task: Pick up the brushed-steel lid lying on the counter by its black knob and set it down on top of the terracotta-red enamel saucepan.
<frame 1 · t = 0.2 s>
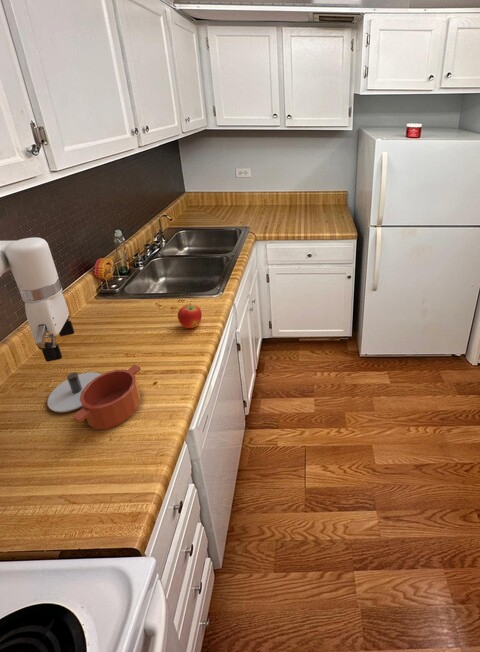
hand: (61, 346, 85), 19 cm above the counter, tool pointing down, fingers open, 9 cm apart
pan lid: (77, 391, 94), point 1 cm above the counter
apple: (191, 326, 123), on the counter
saucepan: (114, 408, 90), on the counter
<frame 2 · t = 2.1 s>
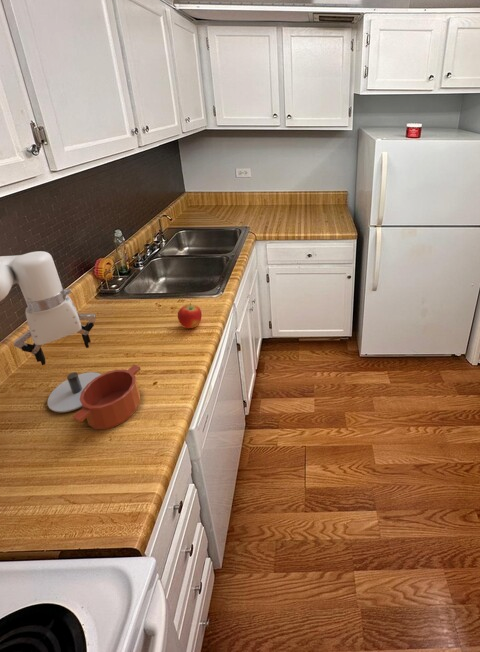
hand: (66, 353, 89), 14 cm above the counter, tool pointing down, fingers open, 9 cm apart
nothing on the counter moved.
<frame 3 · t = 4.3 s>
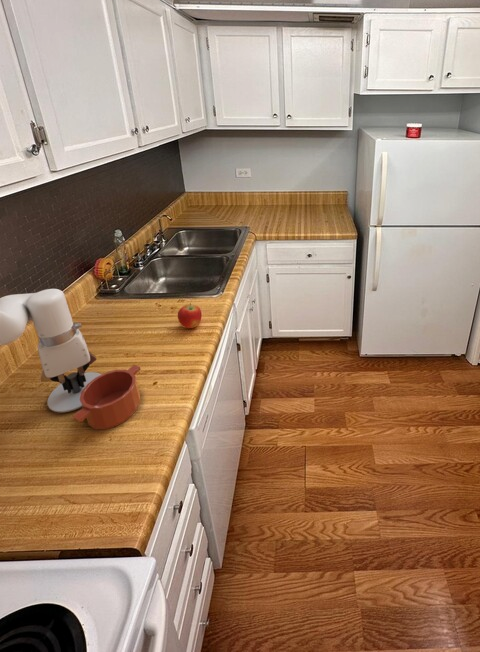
hand: (75, 386, 94), 2 cm above the counter, tool pointing down, fingers closed on pan lid, 2 cm apart
pan lid: (77, 391, 94), point 1 cm above the counter, touching gripper
everything else where it was.
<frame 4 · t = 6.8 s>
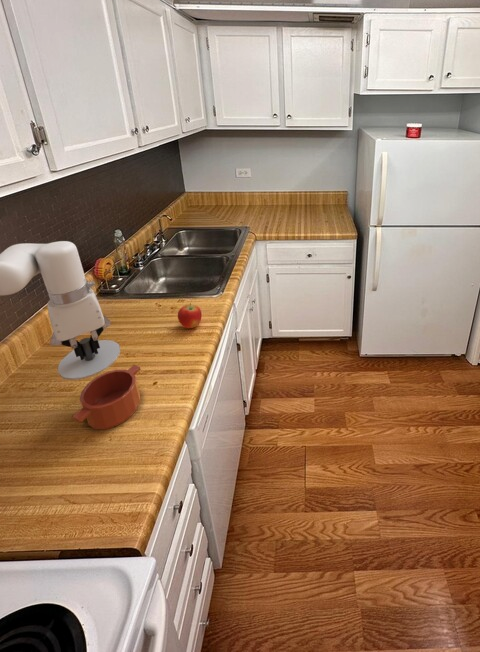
hand: (88, 353, 85), 17 cm above the counter, tool pointing down, fingers closed on pan lid, 2 cm apart
pan lid: (90, 359, 86), point 16 cm above the counter, touching gripper
everything else where it was.
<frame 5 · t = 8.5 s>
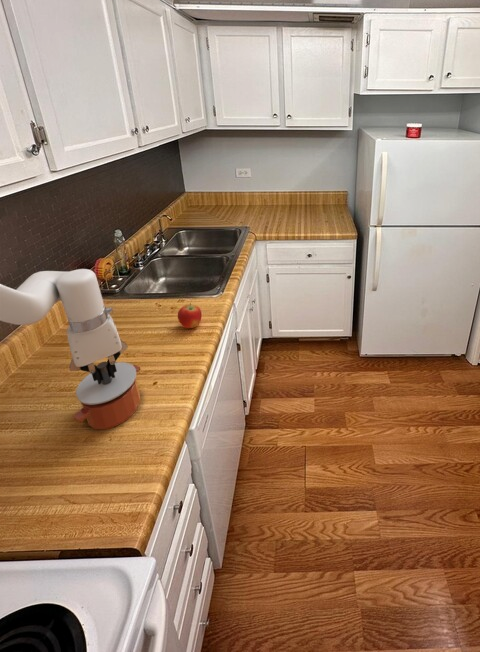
hand: (105, 377, 86), 11 cm above the counter, tool pointing down, fingers closed on pan lid, 2 cm apart
pan lid: (107, 382, 87), point 9 cm above the counter, touching gripper
everything else where it was.
when the fingers open (9 cm above the counter, at t = 9.2 s): pan lid stays where it is, resting on saucepan.
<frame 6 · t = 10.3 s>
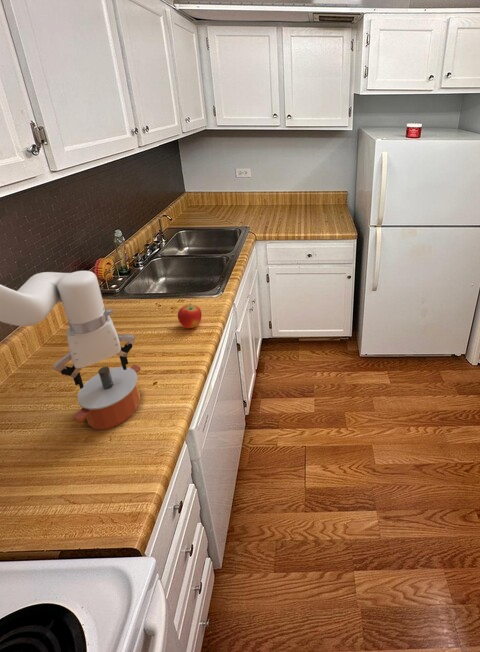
hand: (103, 375, 86), 12 cm above the counter, tool pointing down, fingers open, 9 cm apart
pan lid: (108, 387, 87), point 7 cm above the counter, touching saucepan
everything else where it was.
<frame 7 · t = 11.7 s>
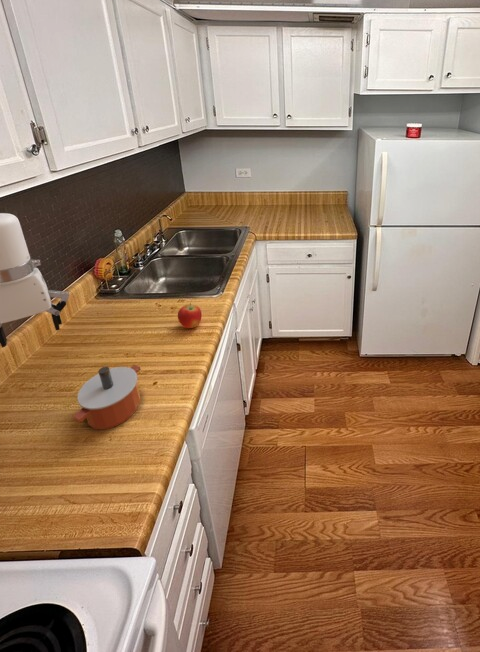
hand: (32, 335, 78), 27 cm above the counter, tool pointing down, fingers open, 9 cm apart
nothing on the counter moved.
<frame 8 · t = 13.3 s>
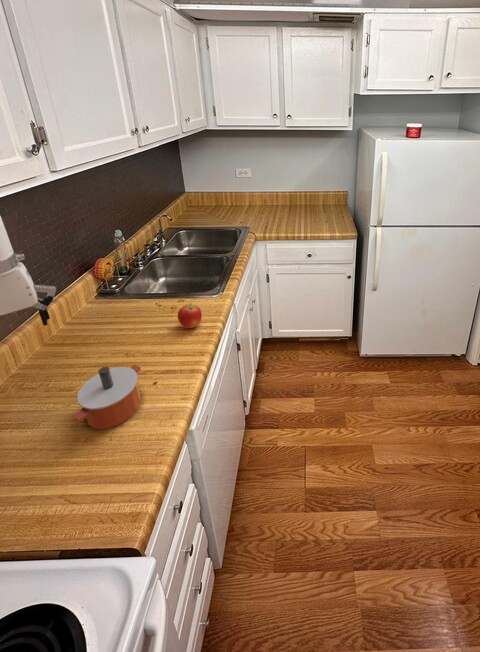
hand: (19, 330, 77), 28 cm above the counter, tool pointing down, fingers open, 9 cm apart
nothing on the counter moved.
at the end: pan lid 0.0 cm off-centre on the saucepan, point 7.4 cm above the saucepan's base; pan lid tilted 0°; the gripper is holding nothing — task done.
